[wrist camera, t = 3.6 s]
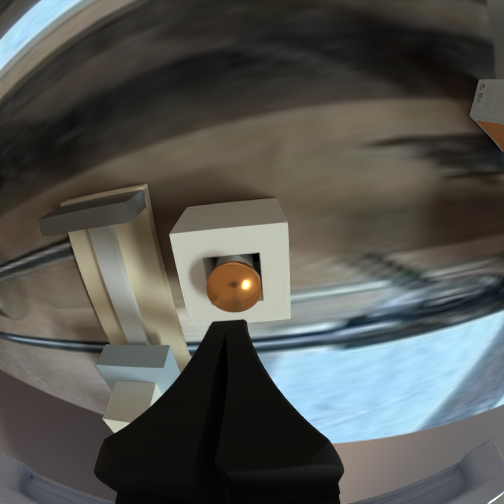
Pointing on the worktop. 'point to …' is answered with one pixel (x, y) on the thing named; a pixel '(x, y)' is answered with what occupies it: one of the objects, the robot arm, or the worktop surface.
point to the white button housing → (233, 243)
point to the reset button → (234, 283)
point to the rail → (122, 266)
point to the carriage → (135, 379)
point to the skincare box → (490, 109)
